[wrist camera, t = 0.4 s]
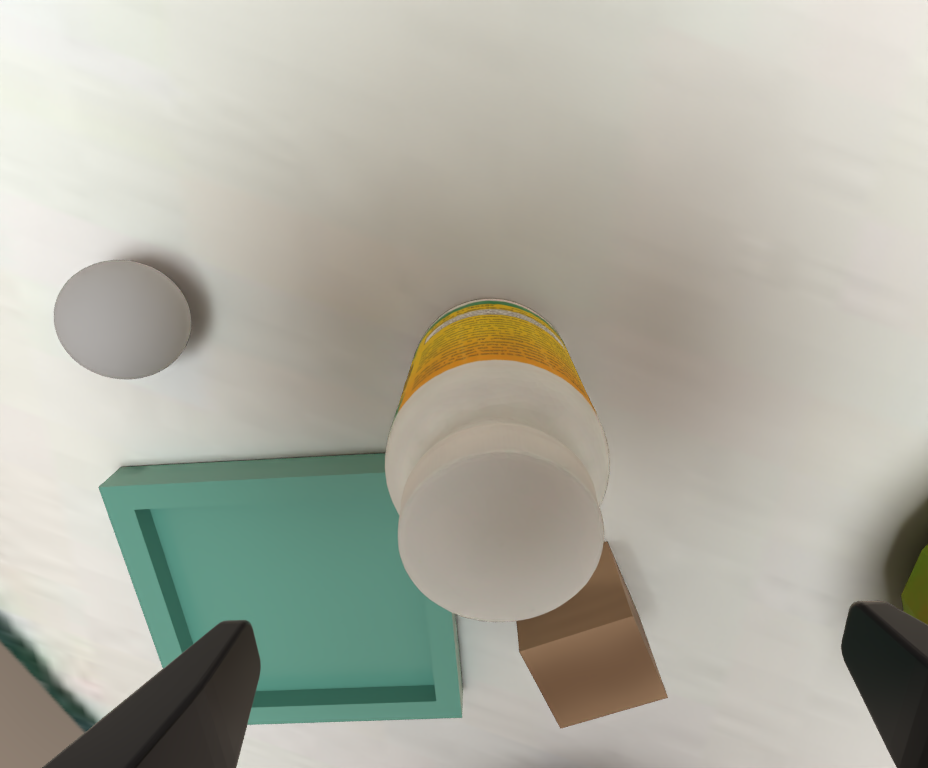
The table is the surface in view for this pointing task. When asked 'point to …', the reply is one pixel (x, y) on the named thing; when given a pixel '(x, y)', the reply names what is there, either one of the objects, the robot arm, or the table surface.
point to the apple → (917, 589)
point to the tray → (290, 583)
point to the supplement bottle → (496, 466)
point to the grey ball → (122, 319)
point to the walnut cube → (592, 651)
